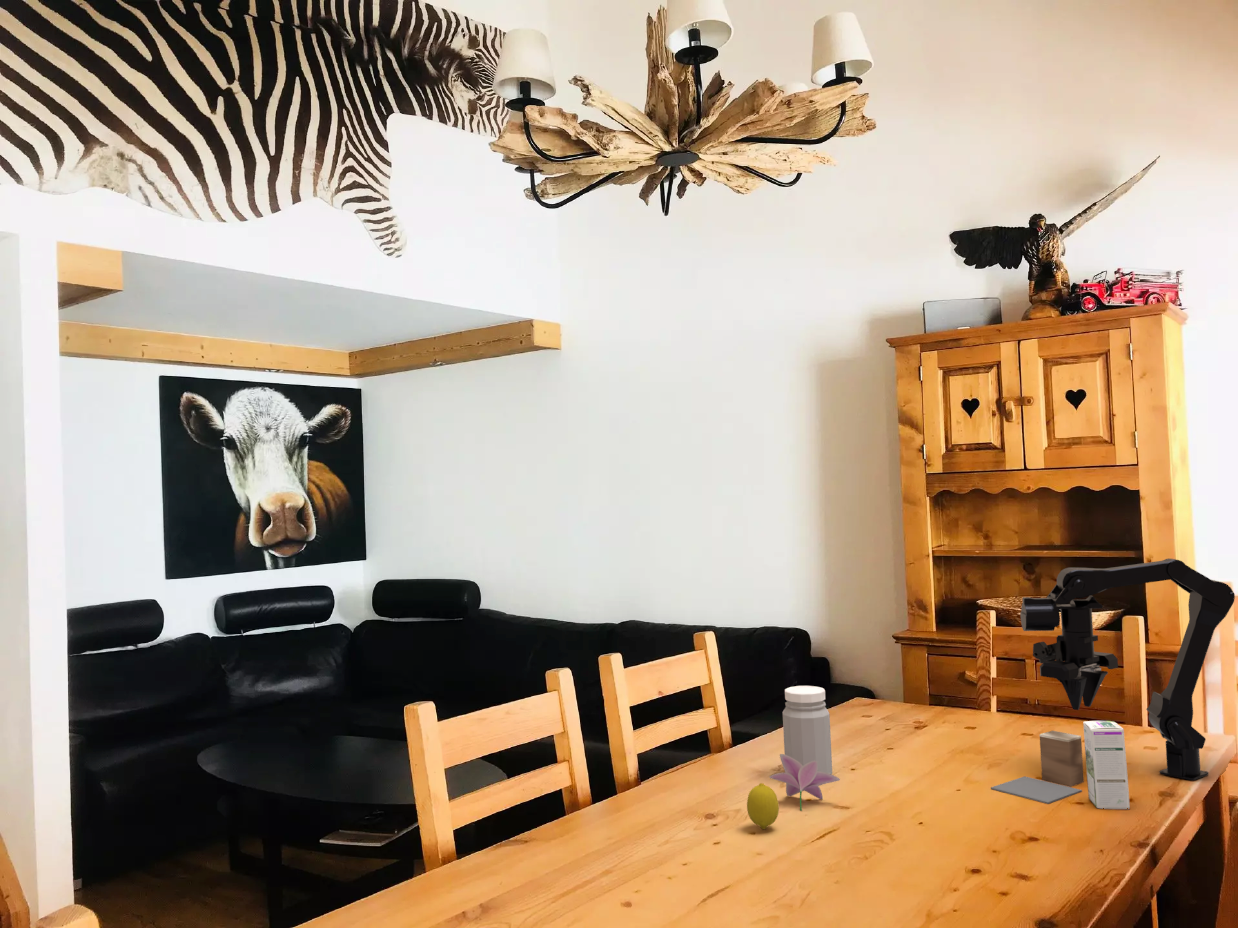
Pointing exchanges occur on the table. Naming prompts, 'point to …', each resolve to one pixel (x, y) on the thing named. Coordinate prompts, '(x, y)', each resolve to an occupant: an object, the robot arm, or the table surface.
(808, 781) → the lily
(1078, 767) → the walnut block
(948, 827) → the table surface
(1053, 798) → the rubber mat
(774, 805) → the lemon
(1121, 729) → the syrup box
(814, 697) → the jar
